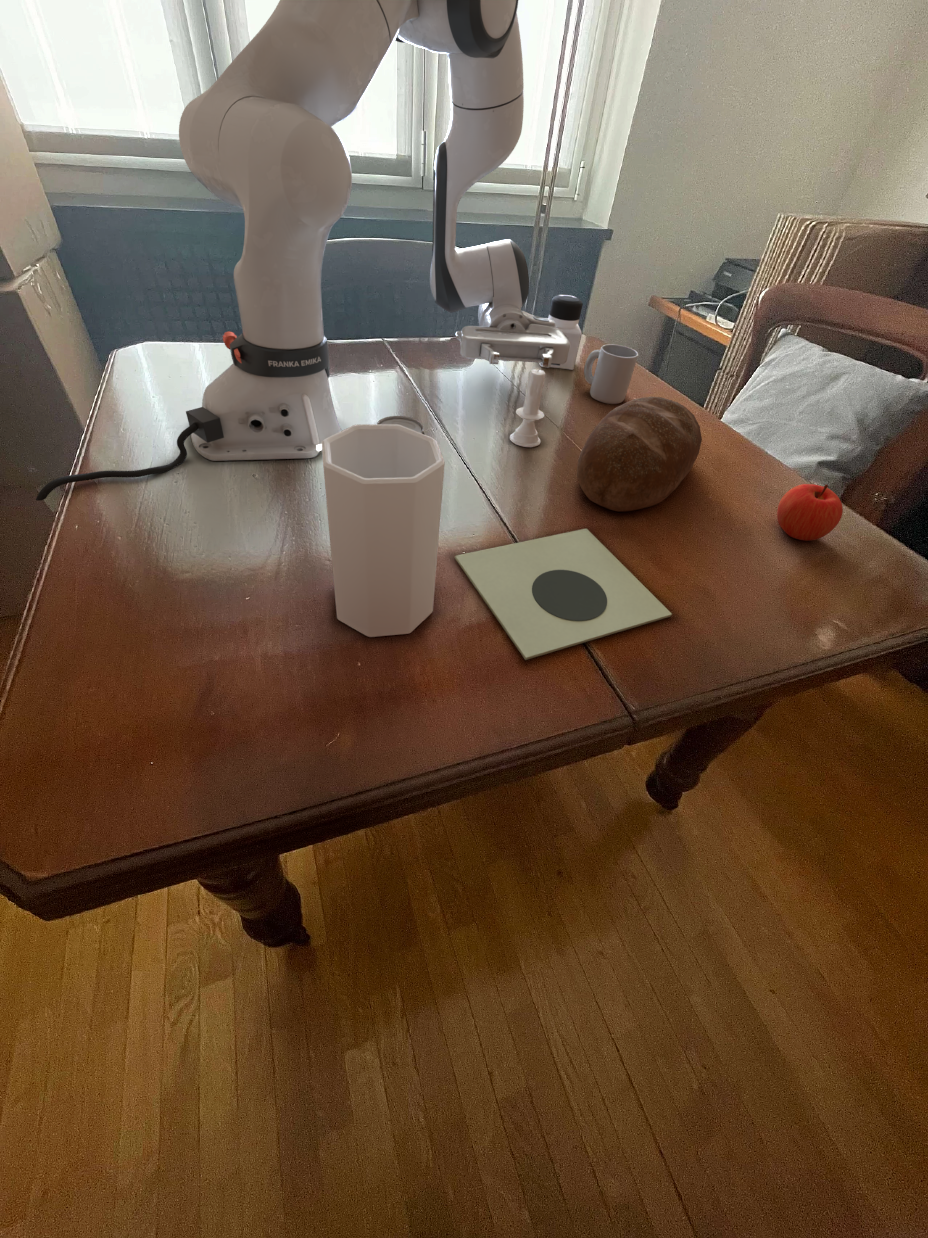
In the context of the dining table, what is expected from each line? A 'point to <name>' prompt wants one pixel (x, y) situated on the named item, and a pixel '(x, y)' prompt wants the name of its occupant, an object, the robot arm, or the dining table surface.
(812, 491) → the apple
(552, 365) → the container
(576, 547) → the mat
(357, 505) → the cup
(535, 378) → the candle
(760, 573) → the dining table surface
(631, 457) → the bread
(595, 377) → the cup
